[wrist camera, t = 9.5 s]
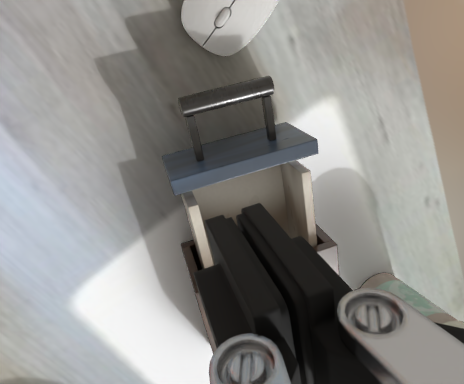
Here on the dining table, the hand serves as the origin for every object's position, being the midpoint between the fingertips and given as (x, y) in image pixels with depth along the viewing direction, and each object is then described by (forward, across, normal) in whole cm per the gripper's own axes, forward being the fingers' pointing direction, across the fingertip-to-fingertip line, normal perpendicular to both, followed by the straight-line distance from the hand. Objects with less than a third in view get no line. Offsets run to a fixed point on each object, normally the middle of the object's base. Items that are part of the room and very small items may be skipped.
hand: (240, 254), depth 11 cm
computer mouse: (+22, -8, -8) cm, 24 cm away
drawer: (+21, -5, +8) cm, 23 cm away
